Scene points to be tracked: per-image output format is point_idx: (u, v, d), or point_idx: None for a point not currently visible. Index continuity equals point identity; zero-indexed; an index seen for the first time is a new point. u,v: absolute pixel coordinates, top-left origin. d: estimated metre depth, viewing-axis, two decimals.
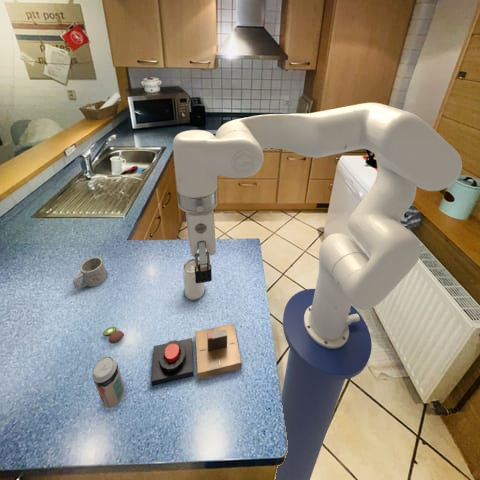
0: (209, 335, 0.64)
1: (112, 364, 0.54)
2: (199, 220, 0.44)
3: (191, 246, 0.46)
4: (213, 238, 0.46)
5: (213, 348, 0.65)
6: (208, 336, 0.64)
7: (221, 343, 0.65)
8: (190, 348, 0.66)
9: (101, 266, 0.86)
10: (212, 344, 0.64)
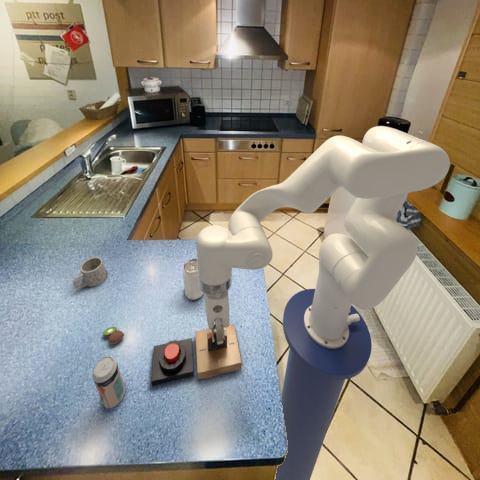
0: (209, 335, 0.64)
1: (112, 364, 0.54)
2: (217, 303, 0.53)
3: (209, 322, 0.54)
4: (227, 315, 0.55)
5: None
6: (208, 336, 0.64)
7: None
8: (190, 348, 0.66)
9: (101, 266, 0.86)
10: None
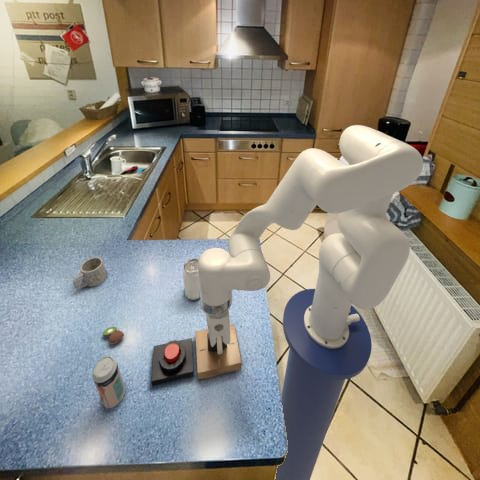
0: None
1: (112, 364, 0.54)
2: (218, 322, 0.55)
3: (211, 340, 0.57)
4: (228, 333, 0.57)
5: None
6: (208, 336, 0.64)
7: None
8: (190, 348, 0.66)
9: (101, 266, 0.86)
10: None
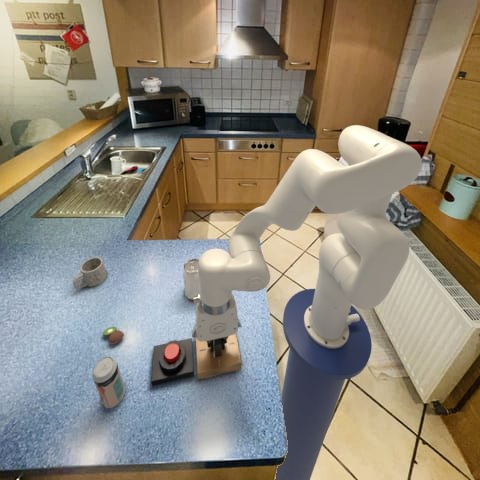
0: None
1: (112, 364, 0.54)
2: (196, 307, 0.59)
3: None
4: (197, 328, 0.58)
5: None
6: None
7: (214, 346, 0.64)
8: (190, 348, 0.66)
9: (101, 266, 0.86)
10: None
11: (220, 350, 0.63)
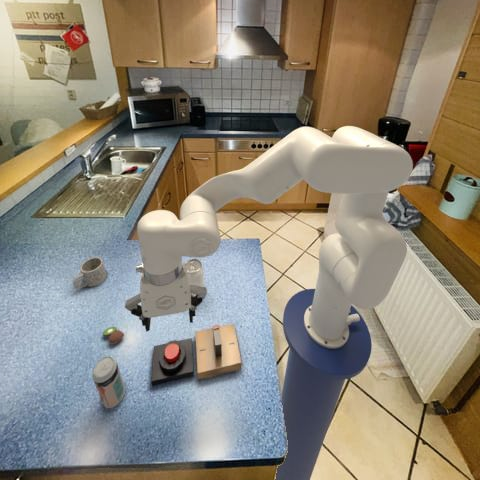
0: (215, 326, 0.66)
1: (112, 364, 0.54)
2: None
3: None
4: (141, 302, 0.51)
5: None
6: (215, 325, 0.66)
7: (214, 346, 0.64)
8: (190, 348, 0.66)
9: (101, 266, 0.86)
10: (213, 335, 0.66)
11: (220, 350, 0.63)
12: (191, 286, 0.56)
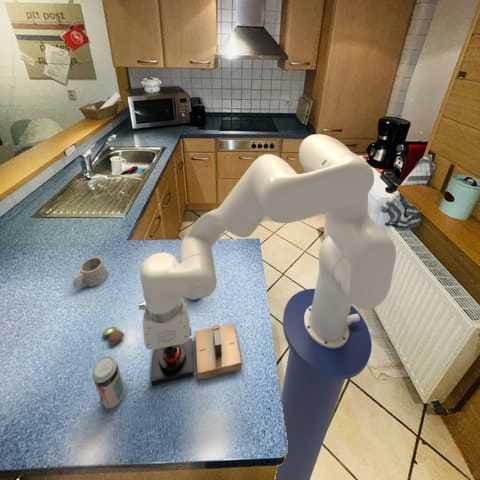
0: (215, 326, 0.66)
1: (112, 364, 0.54)
2: (144, 313, 0.56)
3: None
4: (144, 336, 0.55)
5: None
6: (215, 325, 0.66)
7: (214, 346, 0.64)
8: (190, 348, 0.66)
9: (101, 266, 0.86)
10: (213, 335, 0.66)
11: (220, 350, 0.63)
12: None
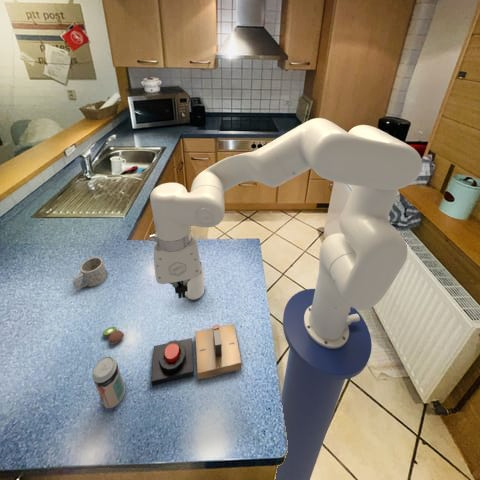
0: (215, 326, 0.66)
1: (112, 364, 0.54)
2: None
3: None
4: (155, 269, 0.55)
5: None
6: (215, 325, 0.66)
7: (214, 346, 0.64)
8: (190, 348, 0.66)
9: (101, 266, 0.86)
10: (213, 335, 0.66)
11: (220, 350, 0.63)
12: None
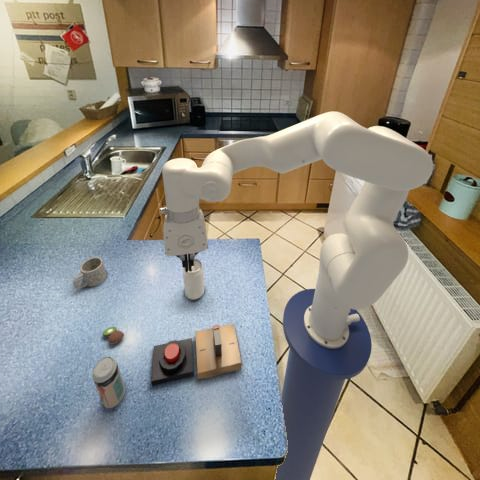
0: (215, 326, 0.66)
1: (112, 364, 0.54)
2: None
3: None
4: (164, 241, 0.58)
5: None
6: (215, 325, 0.66)
7: (214, 346, 0.64)
8: (190, 348, 0.66)
9: (101, 266, 0.86)
10: (213, 335, 0.66)
11: (220, 350, 0.63)
12: None
